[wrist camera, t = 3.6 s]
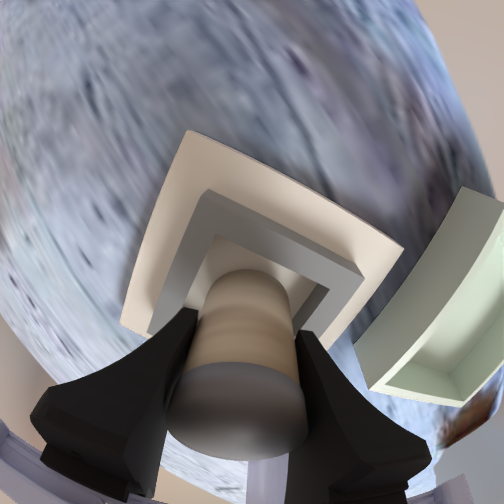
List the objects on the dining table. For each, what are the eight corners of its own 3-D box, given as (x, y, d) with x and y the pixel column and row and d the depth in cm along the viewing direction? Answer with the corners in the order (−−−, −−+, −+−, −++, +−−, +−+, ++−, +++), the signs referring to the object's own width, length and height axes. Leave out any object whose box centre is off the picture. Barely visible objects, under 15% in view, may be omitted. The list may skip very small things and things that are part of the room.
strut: (299, 328, 14) (317, 451, 7) (222, 345, 14) (202, 462, 8) (278, 256, 12) (291, 383, 6) (190, 280, 13) (137, 400, 6)
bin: (444, 376, 19) (461, 407, 15) (352, 345, 17) (368, 389, 13) (525, 268, 14) (553, 290, 10) (461, 186, 12) (505, 204, 9)
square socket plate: (286, 379, 18) (288, 409, 16) (126, 313, 16) (109, 338, 14) (395, 240, 14) (417, 261, 11) (193, 130, 12) (177, 129, 10)
